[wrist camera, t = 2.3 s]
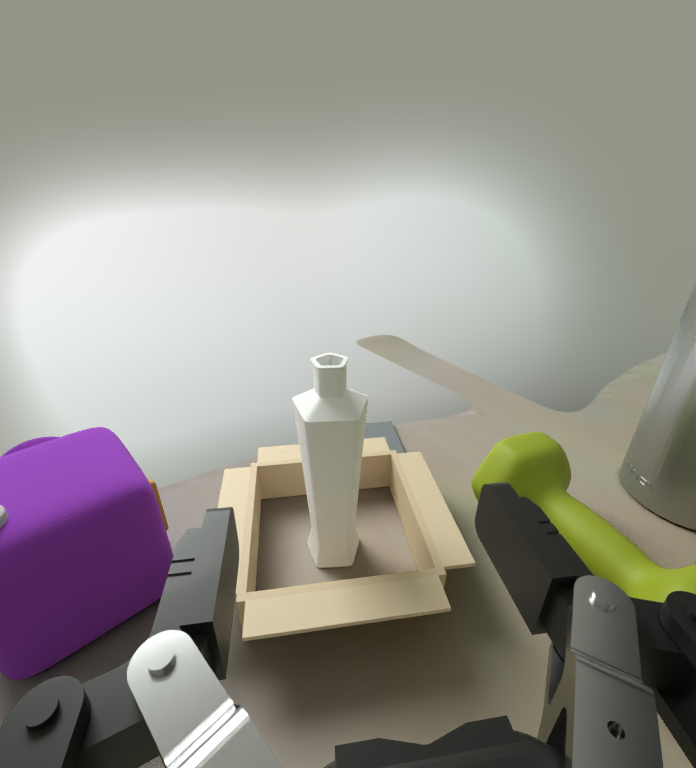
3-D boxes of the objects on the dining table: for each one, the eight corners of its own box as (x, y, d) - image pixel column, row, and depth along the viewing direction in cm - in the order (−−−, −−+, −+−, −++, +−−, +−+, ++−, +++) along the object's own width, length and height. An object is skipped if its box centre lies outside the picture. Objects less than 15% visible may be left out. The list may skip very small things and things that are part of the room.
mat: (391, 424, 44) (391, 421, 43) (406, 458, 38) (406, 455, 38) (317, 430, 43) (317, 427, 42) (322, 466, 37) (322, 463, 37)
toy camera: (112, 488, 35) (76, 387, 30) (209, 570, 28) (182, 454, 23) (-49, 576, 27) (-130, 459, 23) (27, 722, 20) (-69, 594, 15)
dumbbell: (457, 509, 33) (469, 437, 29) (533, 486, 35) (553, 417, 32) (655, 747, 19) (720, 663, 16) (757, 682, 22) (832, 597, 18)
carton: (408, 465, 38) (411, 434, 36) (484, 639, 23) (494, 601, 22) (234, 482, 35) (228, 450, 34) (202, 683, 21) (190, 645, 20)
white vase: (361, 520, 32) (366, 343, 25) (368, 569, 28) (375, 374, 21) (303, 523, 31) (291, 345, 24) (301, 572, 27) (285, 377, 20)
